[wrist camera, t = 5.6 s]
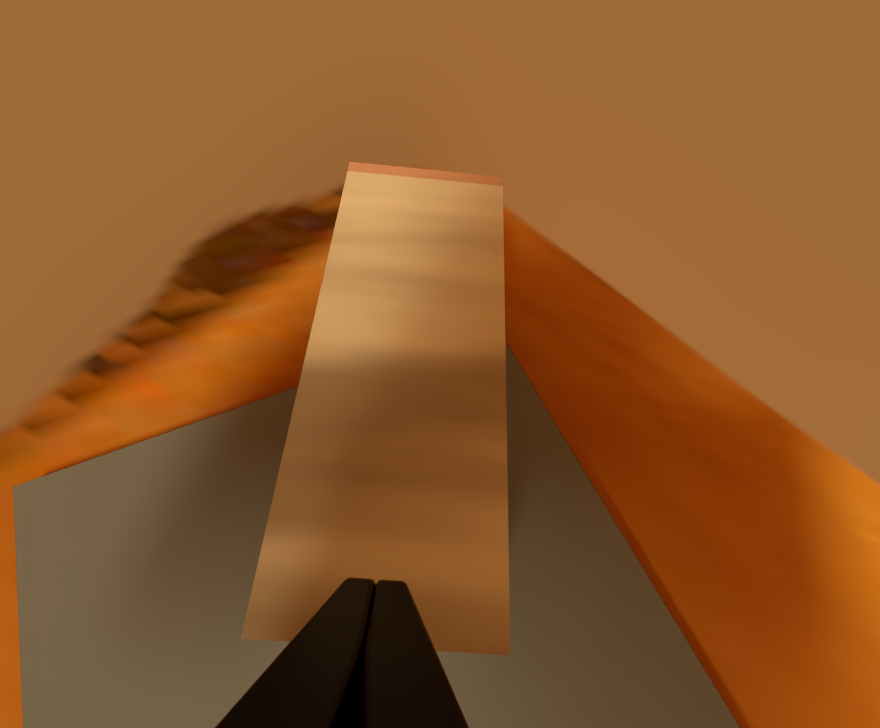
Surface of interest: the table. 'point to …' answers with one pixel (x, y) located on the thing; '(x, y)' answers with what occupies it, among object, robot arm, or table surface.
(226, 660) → the rubber mat
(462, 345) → the maple block
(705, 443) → the table surface
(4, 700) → the table surface
